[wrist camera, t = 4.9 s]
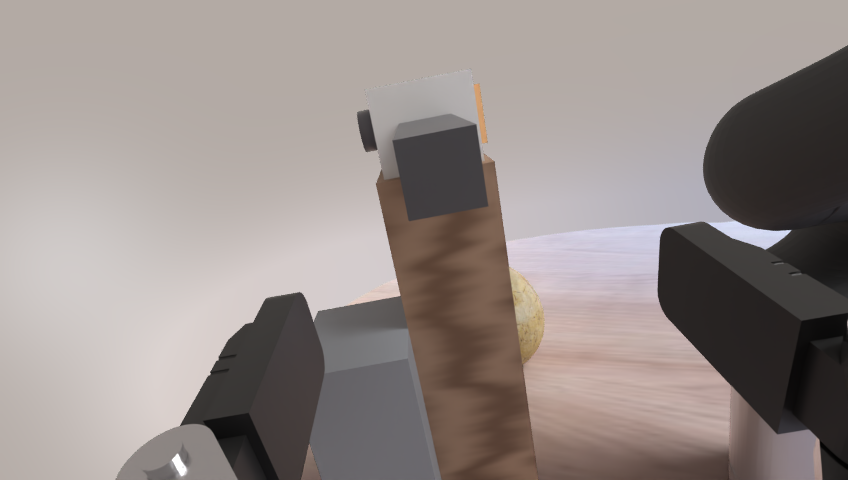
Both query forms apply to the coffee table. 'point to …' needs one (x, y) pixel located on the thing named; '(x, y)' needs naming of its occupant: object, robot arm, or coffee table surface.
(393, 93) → the action camera
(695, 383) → the coffee table surface
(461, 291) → the walnut post
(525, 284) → the fossilized egg
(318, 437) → the grey rectangular block
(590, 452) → the coffee table surface
